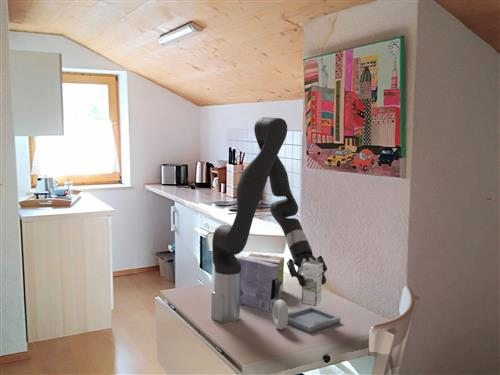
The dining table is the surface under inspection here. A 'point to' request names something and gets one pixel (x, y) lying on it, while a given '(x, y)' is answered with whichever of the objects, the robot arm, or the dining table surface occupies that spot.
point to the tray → (311, 319)
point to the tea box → (271, 260)
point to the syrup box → (312, 283)
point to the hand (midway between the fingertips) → (314, 284)
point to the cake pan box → (258, 283)
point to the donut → (280, 314)
